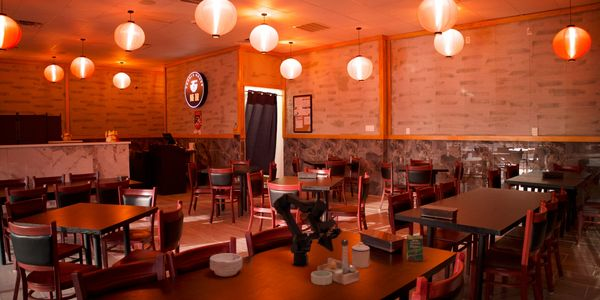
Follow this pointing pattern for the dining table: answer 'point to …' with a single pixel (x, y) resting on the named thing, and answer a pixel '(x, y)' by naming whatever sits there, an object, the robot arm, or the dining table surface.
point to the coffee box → (414, 247)
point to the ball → (332, 264)
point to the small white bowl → (321, 277)
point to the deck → (340, 274)
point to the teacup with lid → (361, 255)
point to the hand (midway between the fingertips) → (332, 251)
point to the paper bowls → (225, 264)
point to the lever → (344, 259)
